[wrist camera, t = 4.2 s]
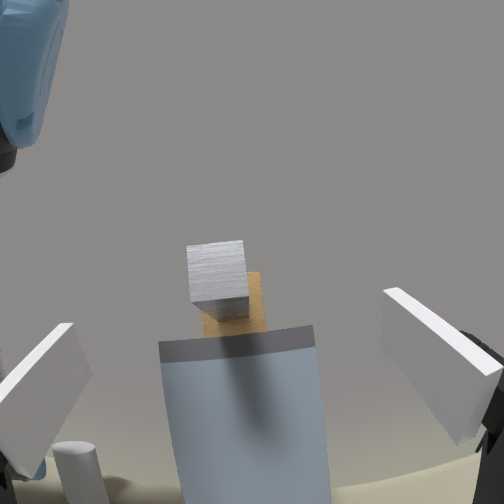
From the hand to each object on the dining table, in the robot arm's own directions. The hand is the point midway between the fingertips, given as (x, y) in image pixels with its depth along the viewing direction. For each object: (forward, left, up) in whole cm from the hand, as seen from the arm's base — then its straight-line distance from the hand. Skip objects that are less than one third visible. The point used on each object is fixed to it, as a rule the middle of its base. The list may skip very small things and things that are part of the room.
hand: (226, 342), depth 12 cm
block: (-8, +13, +1) cm, 15 cm away
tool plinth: (-12, +20, -29) cm, 37 cm away
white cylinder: (-44, +13, -29) cm, 54 cm away
